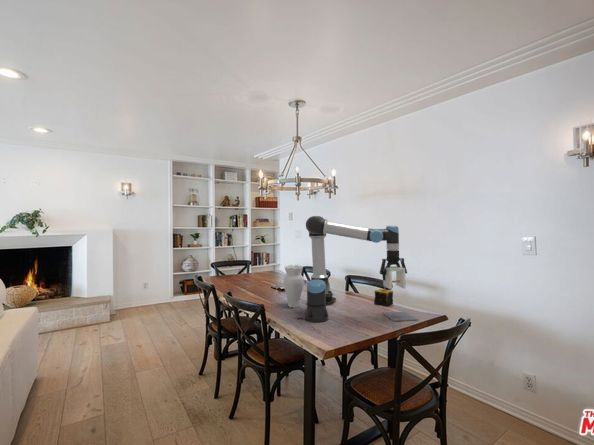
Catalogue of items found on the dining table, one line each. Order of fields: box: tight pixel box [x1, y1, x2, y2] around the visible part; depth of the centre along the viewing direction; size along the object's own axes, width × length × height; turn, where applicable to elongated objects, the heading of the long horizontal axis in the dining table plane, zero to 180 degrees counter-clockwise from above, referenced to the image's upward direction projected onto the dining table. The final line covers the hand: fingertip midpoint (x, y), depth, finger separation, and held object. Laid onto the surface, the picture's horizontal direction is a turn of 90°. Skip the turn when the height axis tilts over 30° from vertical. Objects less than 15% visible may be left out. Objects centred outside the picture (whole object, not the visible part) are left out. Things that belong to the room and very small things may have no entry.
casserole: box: [326, 290, 337, 305], centre depth 224 cm, size 25×19×8 cm
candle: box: [373, 288, 394, 307], centre depth 219 cm, size 10×10×10 cm
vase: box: [283, 264, 305, 309], centre depth 215 cm, size 15×15×29 cm
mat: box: [382, 311, 419, 323], centre depth 190 cm, size 16×16×1 cm
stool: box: [382, 265, 407, 290], centre depth 188 cm, size 10×12×10 cm
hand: (393, 285), depth 189 cm, fingers closed on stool, 10 cm apart
